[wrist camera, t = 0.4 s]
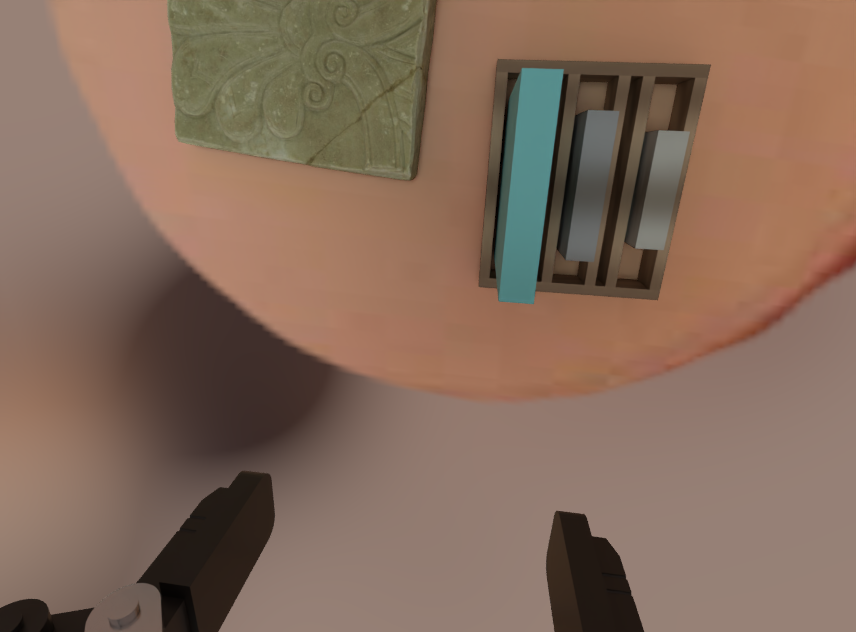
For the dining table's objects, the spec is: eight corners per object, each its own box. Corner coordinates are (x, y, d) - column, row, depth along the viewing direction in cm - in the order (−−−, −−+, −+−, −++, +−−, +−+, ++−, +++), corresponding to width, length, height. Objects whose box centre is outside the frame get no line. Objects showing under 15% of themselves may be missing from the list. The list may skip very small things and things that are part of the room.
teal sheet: (508, 100, 35) (521, 68, 22) (534, 101, 35) (563, 69, 22) (493, 252, 39) (498, 301, 26) (517, 254, 39) (533, 303, 26)
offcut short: (635, 133, 35) (658, 130, 30) (662, 134, 35) (690, 131, 30) (616, 237, 38) (635, 248, 33) (641, 238, 38) (663, 250, 33)
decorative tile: (416, 181, 39) (410, 184, 35) (192, 143, 40) (165, 141, 36) (455, -89, 32) (451, -118, 29) (186, -126, 33) (153, -158, 30)
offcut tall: (571, 117, 35) (587, 109, 30) (597, 118, 35) (619, 111, 29) (553, 245, 39) (565, 260, 33) (578, 246, 38) (593, 262, 33)
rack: (496, 67, 35) (497, 59, 32) (691, 72, 33) (710, 64, 30) (479, 277, 40) (478, 287, 37) (645, 289, 39) (657, 300, 36)
